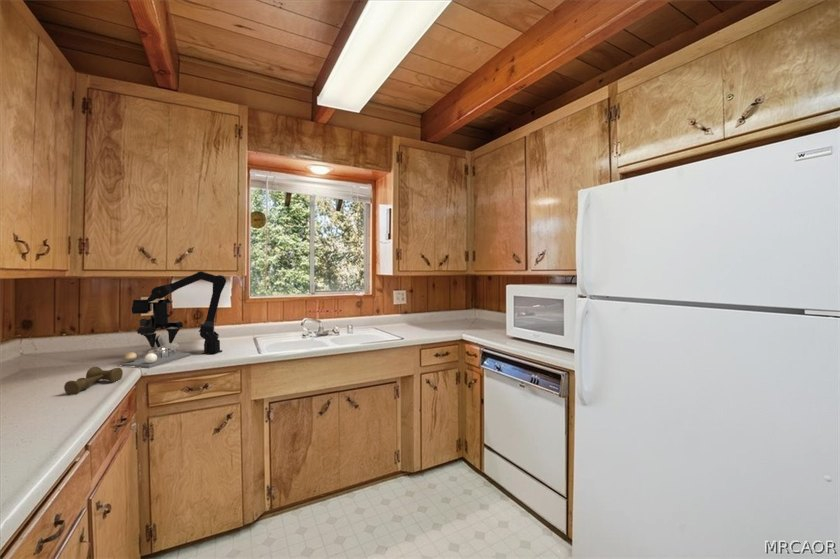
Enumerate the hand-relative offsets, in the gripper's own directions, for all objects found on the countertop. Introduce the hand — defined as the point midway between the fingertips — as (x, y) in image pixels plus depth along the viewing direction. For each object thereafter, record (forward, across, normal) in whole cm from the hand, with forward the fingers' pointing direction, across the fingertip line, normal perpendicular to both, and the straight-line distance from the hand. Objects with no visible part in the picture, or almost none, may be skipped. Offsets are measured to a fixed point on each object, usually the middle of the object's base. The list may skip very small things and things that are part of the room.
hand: (161, 345), depth 166 cm
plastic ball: (+3, +12, +8) cm, 14 cm away
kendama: (+6, +36, +11) cm, 38 cm away
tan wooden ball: (+3, +12, -4) cm, 13 cm away
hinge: (+6, -13, -12) cm, 19 cm away
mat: (+6, +4, +2) cm, 8 cm away
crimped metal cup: (+5, 0, 0) cm, 5 cm away
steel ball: (+3, 0, 0) cm, 3 cm away
